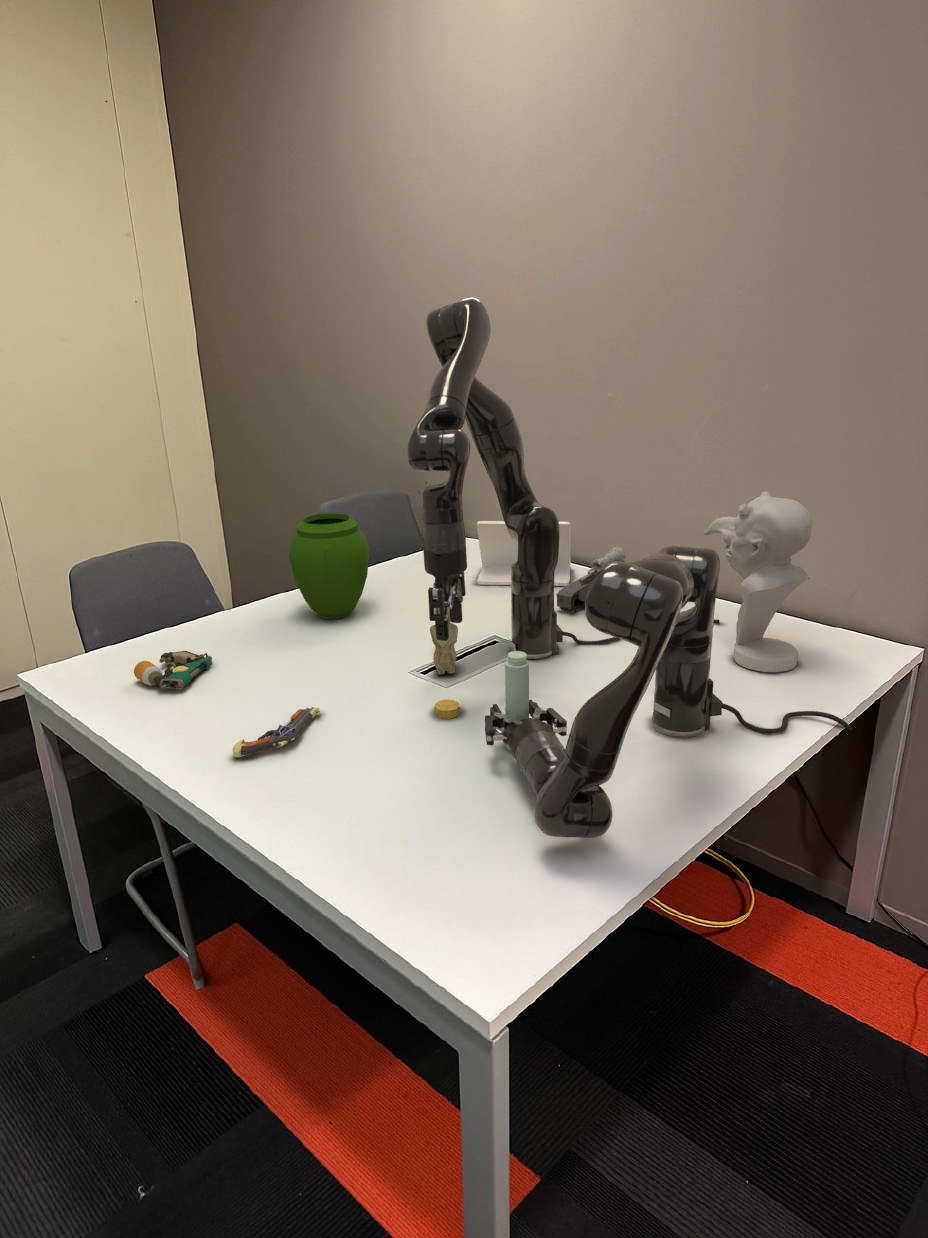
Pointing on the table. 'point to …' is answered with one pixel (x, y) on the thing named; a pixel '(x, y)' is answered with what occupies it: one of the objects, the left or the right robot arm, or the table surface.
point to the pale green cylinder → (517, 686)
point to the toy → (586, 582)
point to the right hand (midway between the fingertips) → (511, 706)
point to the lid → (447, 709)
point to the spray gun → (172, 669)
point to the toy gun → (277, 734)
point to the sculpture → (445, 649)
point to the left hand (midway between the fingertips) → (449, 630)
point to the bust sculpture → (764, 574)
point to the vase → (329, 563)
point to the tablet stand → (514, 554)
